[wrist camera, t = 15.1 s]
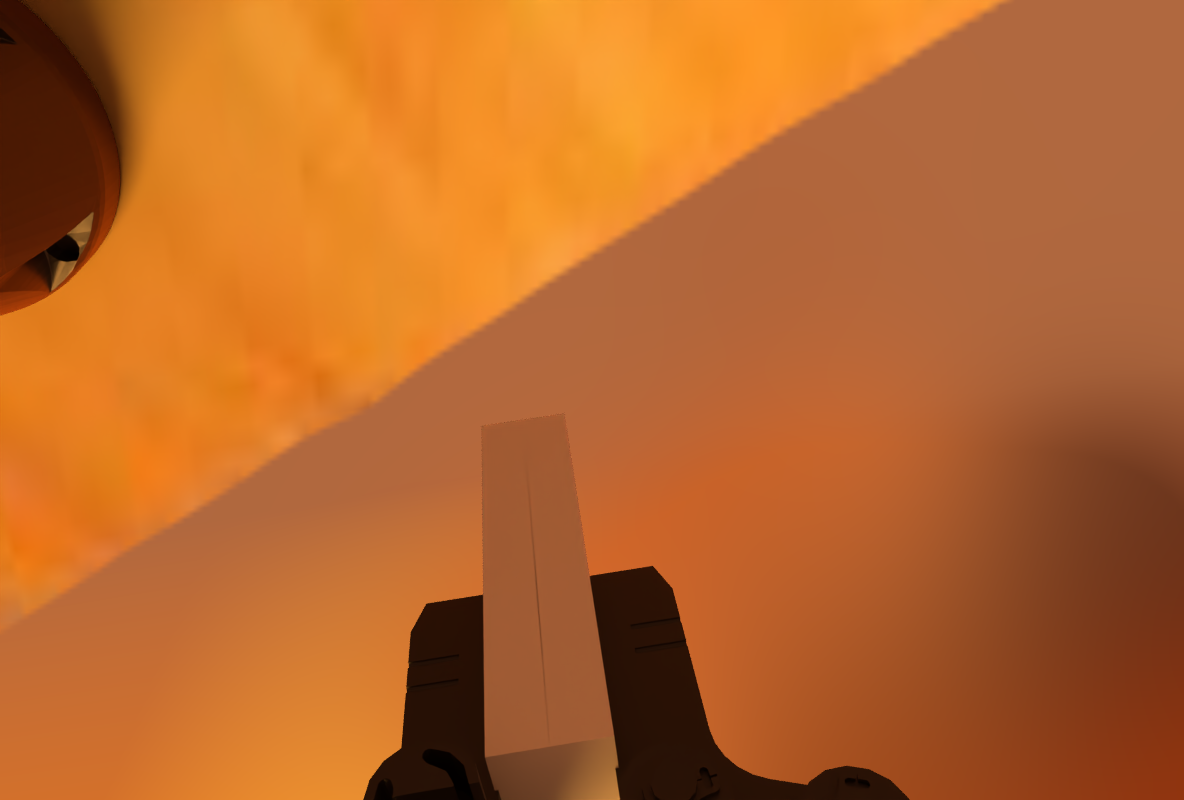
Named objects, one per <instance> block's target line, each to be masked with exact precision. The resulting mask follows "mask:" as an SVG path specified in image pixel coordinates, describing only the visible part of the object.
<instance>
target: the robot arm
mask: <svg viewBox="0 0 1184 800" xmlns="http://www.w3.org/2000/svg"><path fill="white" fill-rule="evenodd" d="M119 191H120V167H119V159H118V152H117V147H116V143H115V138H114V135H113V131H112V128H111V125H110V122H109V120H108V117H107V114H106V112H105V110H104V107H103V105H102V103H101V101H100V99H99V97H98V95H97V93H96V91H95V89H94V87H93V86H92V84H91V82H90V81H89V79H88V77H87V76H86V74H85V73H84V71H83V69H82V68H81V67H80V65H79V64H78V62H77V61H76V60H75V58H74V57H73V56H72V54H71V53H70V52H69V51H68V49H67V48H66V47H65V46H64V44H63V43H62V42H61V41H60V40H59V39H58V38H57V36H56V35H55V34H54V33H53V32H52V31H51V30H50V29H49V28H48V27H47V26H46V25H45V24H44V23H43V22H42V21H41V20H40V19H39V18H38V17H37V16H36V15H35V14H34V13H33V12H31V11H30V10H29V9H28V8H27V7H26V6H25V5H23V4H22V3H21V2H20V1H18V0H0V315H4V314H7V313H10V312H14V311H17V310H19V309H22V308H25V307H27V306H30V305H32V304H34V303H36V302H38V301H40V300H42V299H44V298H46V297H47V296H49V295H50V294H52V293H53V292H55V291H56V290H58V289H59V288H61V287H62V286H63V285H64V284H66V283H67V282H68V281H69V280H70V279H71V278H72V277H73V276H74V275H75V274H76V273H77V272H78V271H79V270H80V269H81V268H82V267H83V266H84V265H85V264H86V262H87V261H88V260H89V259H90V258H91V257H92V256H93V255H94V253H95V252H96V251H97V250H98V248H99V247H100V245H101V244H102V243H103V241H104V239H105V237H106V236H107V234H108V232H109V230H110V227H111V225H112V223H113V220H114V216H115V213H116V209H117V205H118V200H119ZM481 430H482V521H483V522H482V526H483V527H482V528H483V595H479V596H472V597H466V598H460V599H453V600H447V601H441V602H434V603H428V604H426V606H425V607H424V609H423V611H422V613H421V615H420V617H419V618H418V620H417V622H416V624H415V626H414V627H413V629H412V631H411V637H410V649H409V661H408V663H409V668H408V674H407V686H406V687H407V693H406V700H405V711H404V723H403V735H402V748H401V749H400V750H398V751H397V752H396V753H394V754H393V755H392V756H390V757H389V758H387V759H386V760H385V761H384V762H383V763H382V764H381V766H380V767H379V768H378V769H377V771H376V772H375V774H374V775H373V776H372V778H371V779H370V780H369V784H368V787H367V790H366V793H365V796H364V799H363V800H909V798H908V797H907V796H906V795H905V794H904V793H902V791H901V790H900V789H899V788H898V787H897V786H896V785H895V784H894V783H892V781H891V780H889V779H887V778H885V777H883V776H881V775H879V774H877V773H875V772H873V771H871V770H869V769H864V768H857V767H850V766H843V767H838V768H834V769H829V770H825V771H824V772H822V773H821V774H820V775H818V776H817V777H815V778H814V779H813V780H811V781H810V782H809V783H808V785H804V784H798V783H791V782H785V781H779V780H772V779H767V778H764V777H760V776H756V775H752V774H751V773H749V772H747V771H745V770H743V769H741V768H739V767H737V766H736V765H735V764H734V763H732V762H731V761H730V760H729V759H728V758H726V757H725V756H724V755H723V753H722V752H721V750H720V749H719V748H718V746H717V745H716V744H715V742H714V739H713V737H712V735H711V732H710V730H709V726H708V722H707V718H706V715H705V711H704V707H703V703H702V699H701V696H700V692H699V688H698V684H697V680H696V677H695V673H694V669H693V665H692V661H691V658H690V654H689V650H688V646H687V644H686V639H685V635H684V631H683V627H682V623H681V621H680V616H679V612H678V608H677V604H676V600H675V596H674V593H673V589H672V588H671V587H670V585H669V584H668V583H667V582H666V581H665V579H664V578H663V577H662V576H661V575H660V574H659V573H658V571H657V570H656V569H655V568H654V567H653V566H650V567H643V568H637V569H631V570H624V571H618V572H612V573H605V574H599V575H593V576H589V569H588V563H587V557H586V550H585V544H584V537H583V532H582V524H581V518H580V511H579V505H578V498H577V492H576V485H575V479H574V472H573V466H572V459H571V453H570V446H569V440H568V434H567V427H566V421H565V414H557V415H551V416H544V417H537V418H531V419H524V420H517V421H511V422H504V423H498V424H491V425H484V426H481Z"/></svg>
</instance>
